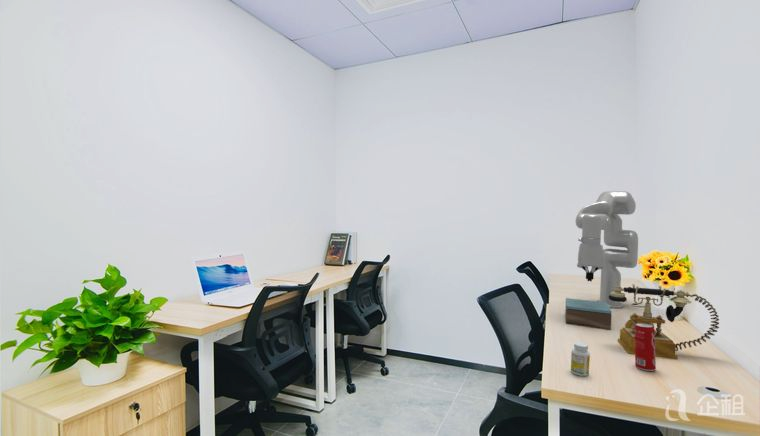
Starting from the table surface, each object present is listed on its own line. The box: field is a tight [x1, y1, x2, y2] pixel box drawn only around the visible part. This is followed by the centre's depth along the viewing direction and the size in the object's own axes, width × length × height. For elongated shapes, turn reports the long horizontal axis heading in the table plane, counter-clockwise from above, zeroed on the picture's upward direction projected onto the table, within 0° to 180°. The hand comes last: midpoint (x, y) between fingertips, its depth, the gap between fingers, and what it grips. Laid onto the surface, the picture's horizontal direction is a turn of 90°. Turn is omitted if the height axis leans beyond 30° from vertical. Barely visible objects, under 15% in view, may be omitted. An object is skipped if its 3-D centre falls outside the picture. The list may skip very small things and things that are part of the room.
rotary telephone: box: [609, 283, 720, 360], centre depth 146 cm, size 35×18×25 cm, turn 73°
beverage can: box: [634, 323, 657, 372], centre depth 129 cm, size 6×6×15 cm
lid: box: [565, 297, 613, 315], centre depth 179 cm, size 16×18×1 cm
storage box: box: [564, 306, 613, 331], centre depth 179 cm, size 16×18×7 cm
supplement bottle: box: [570, 341, 591, 377], centre depth 125 cm, size 5×5×10 cm
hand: (589, 280), depth 174 cm, fingers closed
